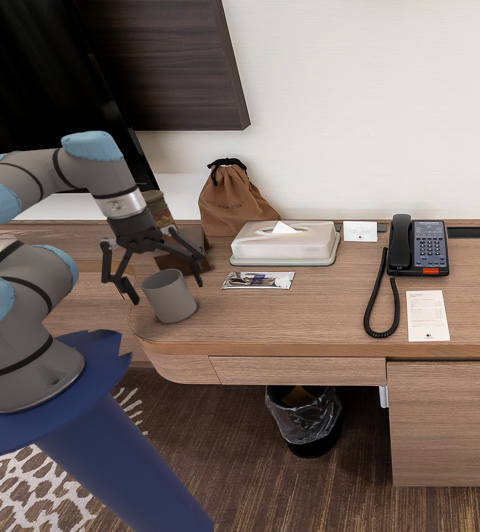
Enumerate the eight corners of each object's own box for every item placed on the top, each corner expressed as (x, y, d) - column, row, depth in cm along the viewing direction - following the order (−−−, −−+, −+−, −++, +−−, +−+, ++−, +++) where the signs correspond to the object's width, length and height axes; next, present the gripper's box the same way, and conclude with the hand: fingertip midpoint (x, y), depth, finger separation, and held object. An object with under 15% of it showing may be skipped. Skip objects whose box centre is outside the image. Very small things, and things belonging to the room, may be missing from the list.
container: (148, 250, 112) (122, 198, 102) (171, 237, 119) (148, 188, 109) (169, 254, 109) (144, 201, 100) (191, 241, 117) (170, 190, 107)
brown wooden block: (165, 281, 97) (153, 257, 92) (169, 255, 109) (158, 233, 105) (211, 269, 101) (201, 246, 97) (210, 246, 113) (201, 224, 109)
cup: (197, 315, 84) (181, 282, 78) (158, 327, 81) (139, 294, 75) (195, 297, 90) (180, 265, 85) (159, 307, 87) (142, 275, 81)
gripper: (44, 234, 63) (105, 319, 75) (193, 204, 72) (226, 285, 84) (57, 219, 69) (111, 300, 81) (193, 193, 78) (224, 270, 89)
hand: (170, 293), depth 82 cm, fingers open, 13 cm apart
